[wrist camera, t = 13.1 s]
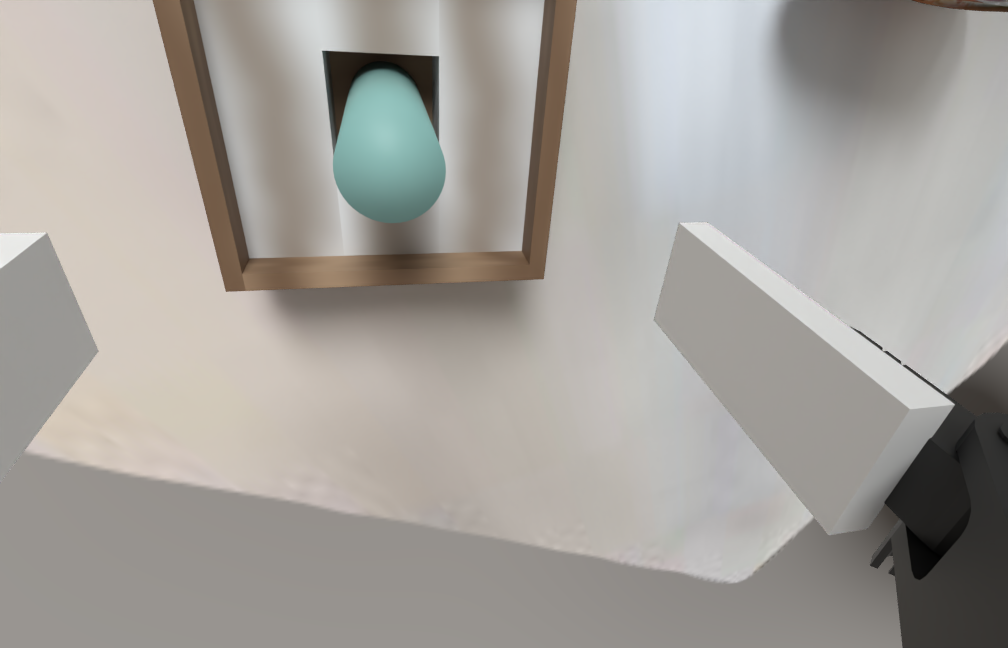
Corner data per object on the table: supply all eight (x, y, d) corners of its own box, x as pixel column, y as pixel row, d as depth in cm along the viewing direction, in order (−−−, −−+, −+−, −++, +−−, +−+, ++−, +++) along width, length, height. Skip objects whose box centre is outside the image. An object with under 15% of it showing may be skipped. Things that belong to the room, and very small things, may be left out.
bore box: (544, -77, 28) (587, -92, 22) (517, 234, 38) (543, 279, 32) (176, -117, 25) (115, -146, 19) (250, 239, 34) (226, 291, 28)
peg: (418, 62, 30) (446, 114, 18) (420, 135, 32) (445, 222, 20) (345, 59, 29) (326, 110, 17) (352, 134, 31) (339, 223, 20)
